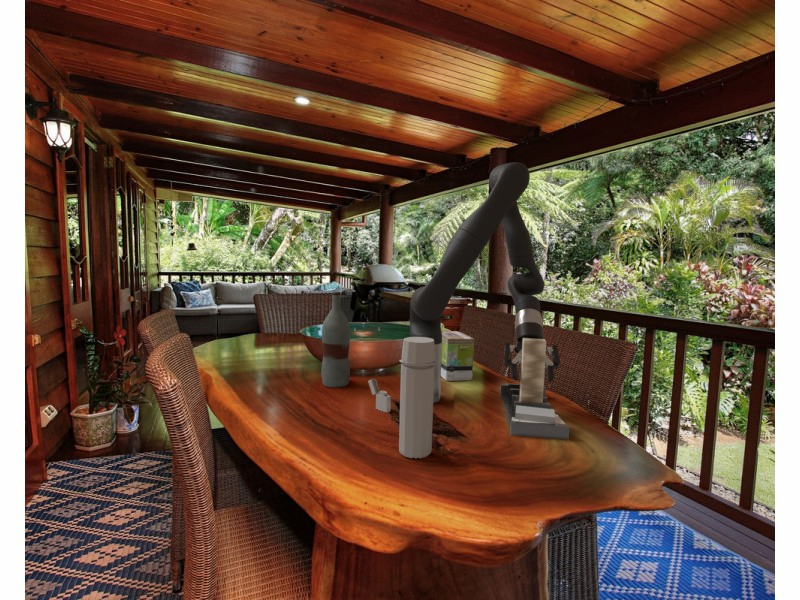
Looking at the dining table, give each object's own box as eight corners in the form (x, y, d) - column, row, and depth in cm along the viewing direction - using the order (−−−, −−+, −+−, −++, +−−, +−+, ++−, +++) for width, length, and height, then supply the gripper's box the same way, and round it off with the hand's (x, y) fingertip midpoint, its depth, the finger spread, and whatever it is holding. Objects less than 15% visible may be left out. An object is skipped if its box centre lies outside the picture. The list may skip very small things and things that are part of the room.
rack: (510, 441, 106) (511, 418, 105) (499, 398, 136) (500, 380, 136) (568, 445, 104) (569, 422, 104) (544, 401, 135) (545, 383, 134)
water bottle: (430, 462, 94) (434, 344, 91) (393, 458, 96) (396, 341, 93) (436, 444, 103) (440, 336, 100) (402, 440, 105) (405, 333, 102)
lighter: (390, 411, 124) (391, 382, 123) (386, 412, 122) (387, 384, 122) (371, 405, 128) (372, 377, 127) (367, 406, 127) (368, 378, 126)
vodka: (330, 389, 141) (330, 293, 138) (315, 382, 148) (316, 291, 145) (355, 384, 147) (356, 292, 144) (340, 378, 154) (341, 290, 151)
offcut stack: (514, 434, 106) (515, 415, 106) (511, 422, 114) (512, 404, 113) (565, 438, 105) (566, 419, 104) (558, 425, 112) (559, 408, 112)
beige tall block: (520, 415, 119) (524, 340, 116) (518, 411, 122) (522, 338, 119) (541, 417, 118) (546, 341, 116) (539, 413, 121) (544, 339, 119)
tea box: (473, 380, 156) (475, 338, 154) (445, 381, 153) (447, 338, 152) (457, 369, 170) (459, 330, 168) (432, 370, 168) (433, 330, 166)
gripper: (504, 319, 125) (506, 371, 115) (557, 322, 123) (564, 374, 113) (501, 335, 131) (503, 385, 121) (552, 337, 129) (558, 388, 119)
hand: (532, 379), depth 117 cm, fingers open, 8 cm apart
